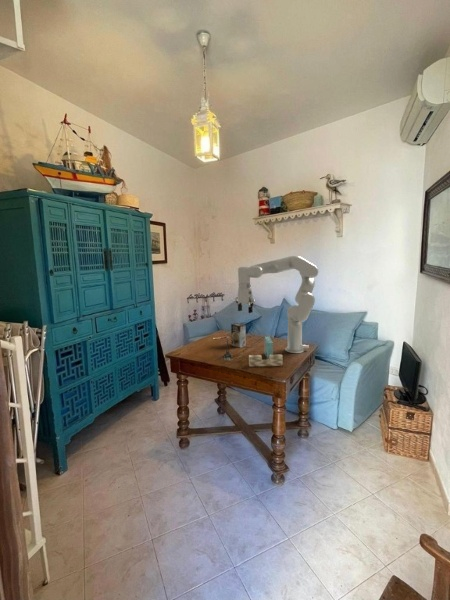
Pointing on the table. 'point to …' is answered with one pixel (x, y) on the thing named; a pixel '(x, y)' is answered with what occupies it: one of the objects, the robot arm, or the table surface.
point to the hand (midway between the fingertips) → (245, 311)
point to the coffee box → (238, 335)
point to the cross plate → (268, 347)
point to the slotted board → (272, 361)
